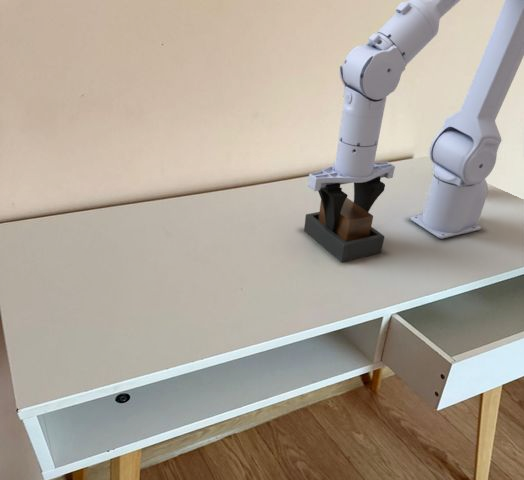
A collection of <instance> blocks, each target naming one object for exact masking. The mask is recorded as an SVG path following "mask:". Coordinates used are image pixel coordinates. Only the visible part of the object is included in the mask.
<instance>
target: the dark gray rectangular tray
mask: <svg viewBox="0 0 524 480" xmlns="http://www.w3.org/2000/svg"><path fill="white" fill-rule="evenodd" d="M319 212H320V211H316V212H311V213H306V214H305V217H304V228H303V232H305V233H306V234H307V235H308V236H309V237H310V238H312V239H313V240H314V241H315V242H317V243H318V244H319V245H320V246H321V247H322V248H324V249H325V250H326V251H327V252H328V253H330V254H331V255H332V256H333V257H335V259H337V260H338V261H339V262H340V263H345V262H349V261H354V260H357V259H361V258H365V257H370V256H374V255H377V254H381V253H382V250H383V245H384V242H385V236H386V235H384V234H382V233H381V232H379V231H378V230H377V229H375V228H374V227H373V226H371V230H370V235H369V237H366V238H361V239H357V240H352V241H348V242H345V241H344V240H343V239H341V238H340V237H339V236H338V235H336V234H335V233H334V232H332V231H331V230H330V229H329V228H327V227H326V226H325V225H324V224H322V223H321V222H320V221H318V219H319Z"/></svg>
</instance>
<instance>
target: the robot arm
mask: <svg viewBox="0 0 524 480" xmlns="http://www.w3.org/2000/svg"><path fill="white" fill-rule="evenodd" d="M460 1H461V0H407V1H401V2H400V3H399V4H398V5H397V6H396V7H395V11H396V12H395V13H394V14H393V16H391V17H390V18H389V19H388V20H387V22H385V24H384V25H382V27H381V28H380V29H379V30H378V31H377V32H376V33H375V32H373V33H372V34H371V35H370V36H369V37H368V41H367V43H366V44H365V43H364V44H363V43H361V45H357V46H355V47H353V48H352V49H351V50H350V51H349V53H348V54H347V56H346V57H345V59H344V62H343V65H340V66H339V78H340V81H341V82H342V84H343V89H344V90H343V98H344V99H343V104H342V113H341V119H340V126H339V132H338V140H337V147H336V155H335V160H334V161H333V165H330V166H328V167H326V168H324V169H321V170H319V171H316V172H312V173H309V174H308V181H307V187H308V188H309V189H311V190H312V191H313V192H318V194H319V197H320V201H321V200H322V204H323V208H324V214H325V223H326V227H327V228H329V229H330V230H331V231H336V229H337V227H338V223H339V217H340V212H341V209H342V206H343V204H344V202H345V200H346V198H348V196H349V195H348V194H347V193H346V192H344V191H343V188H342V187H341V185H347V184H353V202H354V203H356V204H357V205H358V206H360V207H361V208H363V209H364V210H366V211H367V212H368V213H370V210H371V208H372V207H373V205H374V203H376V200H378V198H379V197H380V196H381V195H382V194H383V193H384V192H385V188H386V183H384V182H383V181H382V178H385V179H393V178H394V174H395V170H396V169H395V168H396V166H395V165H394V164H393V163H391V162H389V161H376V162H375V160H376V156H377V150H378V144H379V139H380V133H381V128H382V123H383V118H384V112H385V108H386V101H387V97H388V96H389V95H391V94H392V93H393V92H395V91H396V89H397V87H398V85H399V83H400V81H401V76H402V74H403V72H404V71H405V70H406V67H407V66H408V64H409V63H410V62H411V61H412V60H414V58H415V57H416V56H417V55H418V54H419V53H420V52H421V51H422V50H423V49H425V47H426V46H427V45H428V44H429V43H430V42H431V41H432V40H433V39H434V38H435V37H436V36H437V34H438V32H439V29H440V28H439V27H440V20H441V19H442V18H443V17H444V16H445V15H446V14H447V13H448V12H449V11H450V10H452V9H453V8H454V7H455V6H456V5H457V4H458V3H459V2H460ZM523 59H524V0H504V2H503V5H502V8H501V10H500V12H499V15H498V17H497V20H496V22H495V25H494V27H493V30H492V32H491V35H490V37H489V39H488V42H487V44H486V46H485V49H484V51H483V54H482V57H481V58H480V61H479V64H478V66H477V68H476V71H475V74H474V75H473V79H472V81H471V84H470V86H469V88H468V91H467V93H466V96H465V98H464V100H463V102H462V106H461V108H460V110H459V111H457V112H455V113H453V114H451V115H450V116H448V117H446V118H445V120H444V122H443V125H442V126H441V129H440V130H439V132H438V133H437V134H436V135H435V137H434V138H433V139H432V141H431V143H430V146H429V149H428V150H429V151H428V152H429V153H428V156H429V159H430V161H431V162H432V168H431V169H432V171H433V173H432V174H433V175H432V178H431V182H430V186H429V189H428V194H427V197H426V200H425V205H424V209H423V213H422V214H419V215H413V216H411V217H410V220H411V221H412V222H413V223H415V224H416V225H418V226H419V227H421V228H422V229H424V230H425V231H427V232H429V233H430V234H431V235H433V236H434V237H436V238H438V239H441V240H443V239H446V238H450V237H455V236H460V235H463V234H467V233H472V232H475V231H476V232H477V231H480V230H481V226H480V225H479V221H480V217H481V215H482V213H483V208H484V206H485V203H486V199H487V197H488V193H489V188H488V182H487V178H488V176H490V174H491V173H492V172H493V169H494V168H495V165H496V162H497V157H498V156H497V155H498V150H499V147H500V145H501V143H502V136H501V133H500V131H499V129H498V125H497V123H496V119H497V117H498V115H499V113H500V110H501V108H502V106H503V103H504V101H505V99H506V97H507V95H508V92H509V90H510V88H511V86H512V83H513V82H514V79H515V77H516V74H517V73H518V70H519V67H520V66H521V63H522V61H523Z"/></svg>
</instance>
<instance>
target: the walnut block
mask: <svg viewBox="0 0 524 480" xmlns="http://www.w3.org/2000/svg"><path fill="white" fill-rule="evenodd" d="M318 212H319V219H318V221H320V222H321V223H322V224H324V225H325V226H326V223H325V214H324V208H323V204H322V200H321V199H320V204H319V211H318ZM373 219H374V215H373V214H372V213H370V212H367V211H366V210H364V209H363V208H361V207H360V206H358V205H357V204H356V203H354V200H351V199H350V198H348V197H347V198H346V200H345V202H344V204H343V206H342V209H341V212H340V217H339V223H338V227H337V229H336V231H332V232H334V233H335V234H336V235H338V236H339V237H340V238H341V239H343V240H344V241H345V242H348V241H352V240H357V239H361V238H366V237H369V235H370V230H371V227H372V226H373Z"/></svg>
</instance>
